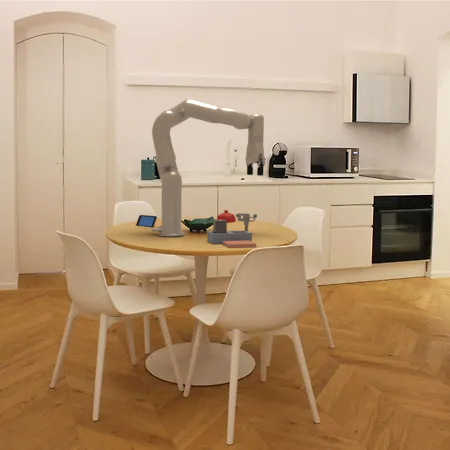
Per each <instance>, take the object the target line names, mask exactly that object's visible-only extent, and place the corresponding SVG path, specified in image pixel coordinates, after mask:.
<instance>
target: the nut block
mask: <svg viewBox="0 0 450 450" xmlns="http://www.w3.org/2000/svg"><path fill="white" fill-rule="evenodd" d="M227 224H228V223H227V221H226V220H217V219H213V220H212V227H213V228H212V231H213V233H227V231H228V228H227V227H228V226H227Z"/></svg>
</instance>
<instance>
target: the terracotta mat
mask: <svg viewBox="0 0 450 450" xmlns="http://www.w3.org/2000/svg"><path fill="white" fill-rule="evenodd" d="M222 246H225V247H227V248H229V249H240V248H245V249H246V248H257V242H253V241H252V242H251V241H249V240H247V241H223V244H222Z"/></svg>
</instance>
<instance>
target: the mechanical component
mask: <svg viewBox="0 0 450 450" xmlns="http://www.w3.org/2000/svg"><path fill="white" fill-rule="evenodd" d="M257 217H258V215H257V214H256V213H253V215H252V216H251V215H250V213H236V215H235V218H237V221H238V222H243V225H244V231H248V232H249V224H250V223H253V222H254V221H256V218H257ZM250 219H252V220H250Z"/></svg>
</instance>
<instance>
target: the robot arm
mask: <svg viewBox="0 0 450 450" xmlns="http://www.w3.org/2000/svg"><path fill="white" fill-rule="evenodd" d="M188 119H195V120H199V121H203V122H207V123H210V124H222V125H227V126H231V127H234V129H236V130H248V131H247V146H246V154H245V158H244V159H245V164H246V175H248V176H253V175H254V167H253V166H254V164H256V165H257V169H256V170H257V171H256V175H257V176H262V177H263V176H264V168H265V164H266V159H267V158H266V157H265V147H264V131H265V129H264V128H265V127H264V125H265V117H264V115H263V114H257V113H256V114H253V113H252V114H250V115H249V114H248V113H245V112H242V111H239V110H235V109H231V108H227V107H223V106H218V105H214V104H211V103H207V102H203V101H199V100H196V99H191V98H186V99H184V100H183V101H181V102H180V103H178V104H177V105H175V106H174V107H173V106H172V107H171V108H169V109H167V110H163V111H162V112H161V113H159V115H158V116H157V117H156V118H155V120H154V121H153V124H152V129H151V133H152V141H153V142H152V143H153V147H154V151H155V163H156V166H157V170H158V176H159V179H160V183H161V225H160V226H158V227H155V226H154V228H152V227H151V231H152V232H158V236H159V237H183V236H185V232H183V231H182V192H183V191H182V189H183V188H182V187H183V180H182V176H181V174H180V172H179V170H178V166H177V161H176V159H177V157H176V154H175V151H174V147H173V143H172V137H171V130H172V128H174V127H176V126H177V125H180V124H181V123H183V122H185V121H186V120H188Z"/></svg>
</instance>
